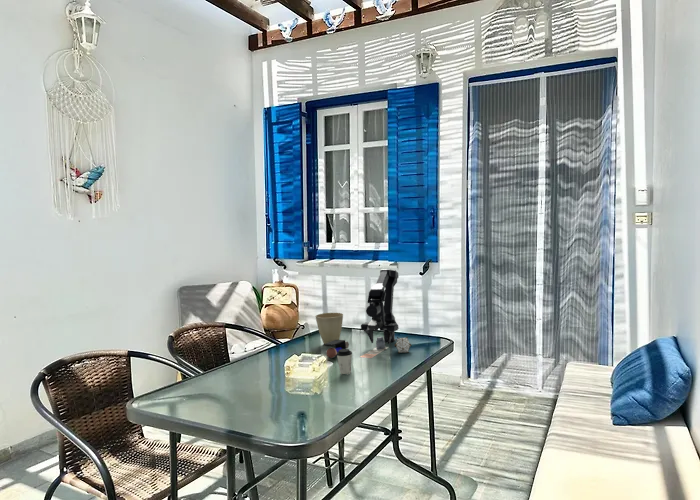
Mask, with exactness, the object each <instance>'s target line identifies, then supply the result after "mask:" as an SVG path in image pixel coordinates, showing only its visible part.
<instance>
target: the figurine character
mask: <svg viewBox="0 0 700 500" xmlns="http://www.w3.org/2000/svg"><path fill="white" fill-rule="evenodd" d="M322 346H323V347H324V346H327V347H328V346H331V347H329V348H328V349H327V350H326V352H325V353H326V356H327V357H328V358H330V359H334V358H336V357H337V355H336V354H337V352H339V350H340V349H349V347H350V343H349V342H348V341H346V339H339V340H333V341H331V342H328V343H325V344H324V343H323V345H322ZM332 346H334V347H332Z"/></svg>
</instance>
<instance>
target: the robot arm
mask: <svg viewBox="0 0 700 500" xmlns="http://www.w3.org/2000/svg"><path fill="white" fill-rule="evenodd" d="M398 279H399V272H398V271H397V270H396V269H389V268H381V269H380V271H379V276H378V278H377V280H376V283H375V284H374V285H373V286H371V287H370V290H369V292H368V296H367V297H368V298H367V304H368V306H367V307H366V309H365V313H366V315H367V316H368V317H371V320H370V321H369V322H368V321H367V322H364V323H362V324H361V325H360V330H362V331H363V332H365V333H366V334H367V336H368V338H369V340H370V343H371V344H374V331H375V332H376V331H380V332H383V340H385V343H387V344H388V345H390V344H393V343H396V342H397V340H398V338H397V339H396V337H395V332H396V331H398V330H399V329H400V328H399V327H400V326H399V324H398V323H397V321H396V317H395V316H394V313H393V306H394V305H393V304H394V291H395V289H394V288H395V285H396V284H397V283H398Z"/></svg>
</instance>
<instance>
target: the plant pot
mask: <svg viewBox="0 0 700 500" xmlns="http://www.w3.org/2000/svg"><path fill="white" fill-rule="evenodd" d="M315 320H316V326H317V329H318V332H319V336H320V338H321V340H322V342H323V344H325V343H328V342H331V341H333V340H340V336H341V334H342V333H341V332H342V328H343V320H344V313H343V312H342V313H341V312H325V313H324V312H323V313H319V314H316V315H315Z"/></svg>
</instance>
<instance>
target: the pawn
mask: <svg viewBox="0 0 700 500" xmlns="http://www.w3.org/2000/svg"><path fill="white" fill-rule="evenodd" d="M375 346H376V347H375V348H376V349H385V347H386V342H385V340H384V336H377V337H376V340H375ZM385 350H386V349H385Z"/></svg>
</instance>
